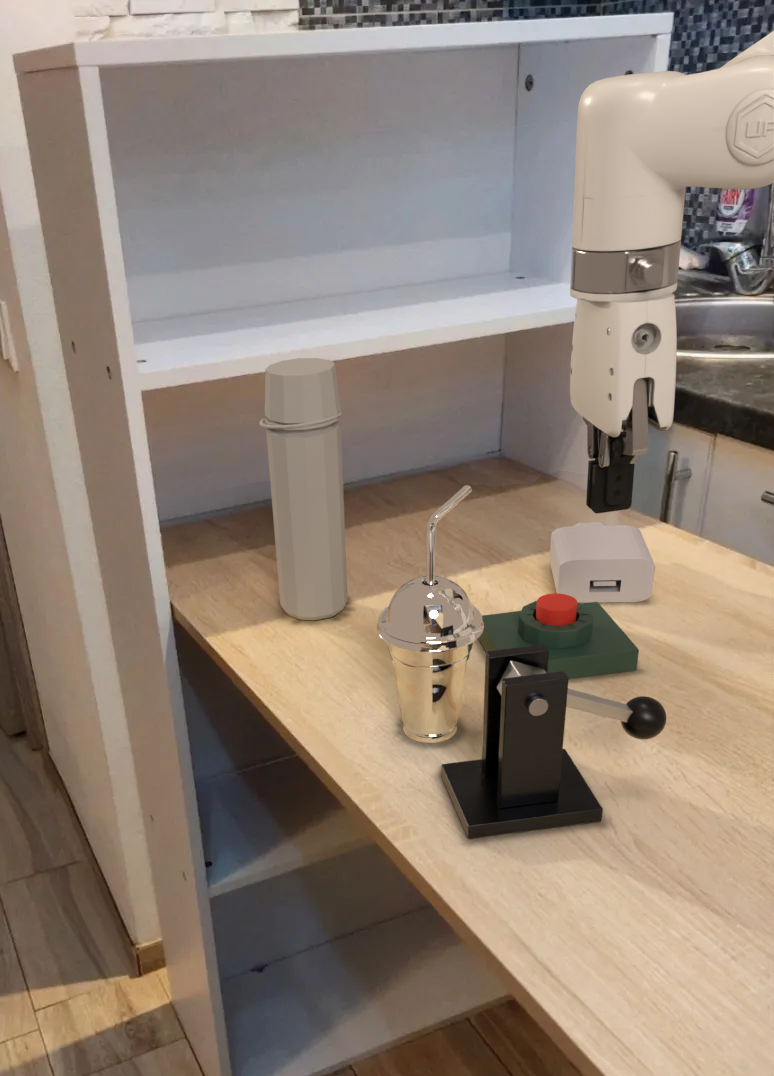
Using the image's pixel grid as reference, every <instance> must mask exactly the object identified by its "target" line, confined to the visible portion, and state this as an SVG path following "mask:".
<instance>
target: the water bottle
mask: <svg viewBox="0 0 774 1076" xmlns="http://www.w3.org/2000/svg"><path fill="white" fill-rule="evenodd" d="M342 415H343V411H342V405H341V398H340V391H339V384H338V377H337V369H336V363H335V362H333V361H332V360H330V359H325V358H319V357H299V358H292V359H284V360H279V361H277V362H273V363H271V364H269V365H268V366H267V367H266V368H265V370H264V416H265V417H263V418H261V419H260V420H259V422H258V425H259V426H261V427H262V428H266V429H265V431H266V432H265V434H266V444H267V457H268V469H269V483H270V494H271V507H272V519H273V531H274V541H275V542H274V544H275V545H274V546H275V555H276V567H277V569H276V570H277V579H278V592H279V593H278V594H279V604H280V606H281V608H282V609H283V611H284V612H285V613H286V614H287V616H288V617H289V616H290V617H292V618H295V619H297V620H302V621H319V620H324V619H330V618H332V617H334V616H336V615H337V614H339V613H341V612H342V611H343V610H344V609H345V608H346V605H347V603H348V600H349V594H348V593H349V592H348V591H349V590H348V569H347V567H348V566H347V545H346V520H345V501H344V500H345V499H344V498H345V497H344V474H343V473H344V472H343V453H342V450H343V449H342V429H341V428H342V427H341V425H342V424H341V422H339V419H340V418H341V416H342Z"/></svg>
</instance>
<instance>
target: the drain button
mask: <svg viewBox="0 0 774 1076" xmlns="http://www.w3.org/2000/svg"><path fill="white" fill-rule="evenodd" d="M536 601H537V606H536V620H537V621H539V622H541V623H544V624H547V625H556V626H561V625H569V624H571V623H574V622H575V621H576V614H577V600H576V599H575V598H573V597H572V596H569V595H566V594H559V593H557V592H556V593H555V592H554V593H547V594H543V595H541V596H539V597H538V598H537V599H536Z"/></svg>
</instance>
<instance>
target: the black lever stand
mask: <svg viewBox="0 0 774 1076" xmlns="http://www.w3.org/2000/svg"><path fill="white" fill-rule="evenodd" d="M548 659H549V650H548V648H547V647H546V645H545V644H543V645H534V646H526V647H518V648H510V649H502V650H493V651H485V661H484V662H485V668H484V694H483V695H484V697H483V718H482V719H483V723H482V747H481V748H482V751H481V758H479V759H473V760H464V761H456V762H447V763H441V766H440V768H441V769H440V770H441V771H440V772H441V773H440V775H441V776H440V777H441V779H442V781H443V784H444V786H445V788H446V790H447V792H448V795H449V797H450V799H451V802H452V805H453V806H454V809H455V811H456V813H457V816H458V818H459V821H460V823H461V826H462V828H463V830H464V833H465V835H466V837H467V839H469V840H470V839H477V838H478V839H479V838H484V837H492V836H499V835H507V834H508V835H509V834H516V833H525V832H531V831H538V830H547V829H554V828H562V827H568V826H576V825H584V824H592V823H599V822H600V823H601V822H602V820H603V812H604V811H603V810H604V809H603V807H602V805H601V804H600V802H599V800H598V799H597V797H596V796H595V794H594V793H593V791H592V789H591V788H590V785H588V783H587V781H586V780H585V778H584V777H583V775H582V774H581V772H580V771H579V769H578V767H577V766H576V763H575V762H574V760H573V759H572V758H571V756H570V755H569V753H568V751H567V749H566V748H564V738H565V727H566V717H567V716H566V714H567V706H566V704H567V692H568V688H569V680H570V679H569V678H568V676H567V675H566V673H565V672H564V671H560V672H552V673H548ZM511 660H512V661H516V662H519V663H523V664H526V665H530V666H534V667H537V668H541V669H544V670H545V672H546V673H544V674H536V675H528V676H520V677H512V678H504V679H502V695H501V694H500V693H499V691H498V689H497V686H498V684H499V682H500V680H501V678H502V676H503V674H504V672H505V670H506V668H507V666H508V664H509V662H510V661H511Z"/></svg>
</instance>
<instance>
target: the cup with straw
mask: <svg viewBox="0 0 774 1076" xmlns="http://www.w3.org/2000/svg"><path fill="white" fill-rule="evenodd" d="M472 492H473V489H472V487H471V485H468V484H466V485H463V487H461V488H460V489H459V490H458V491H457V492H456V493H455V494H454V495H453V496H452V497H450V498H449V499H448V500H447V501H446V502H445V503H443V504H442V505H441V506H440V507H439V508H438V509H436V511H434V512H433V513H432V514H431V516H430V517H429V518H428V521H427V524H426V529H425V576H419V577H416V578H413V579H411V580H409V581H407V582H405V583H404V584H402V585H401V586H400V587H399V588H398V589H397V590H396V591H395V592H394V594H393V596H392V598H391V599H390V602H389V603H388V606H386V607H385V608H384V609H383V610H382V611H381V612H380V614H379V616H378V622H377V624H376V631H377V634H378V636H379V637H380V638H381V640H383V641H384V642H386V643H387V648H388V651H389V656H390V659H391V661H392V663H393V664H392V665H393V670H394V678H395V685H396V691H397V692H396V693H397V697H398V704H399V712H400V718H401V721H402V722H403V725H402V731H403V733H404V734H405V736H407V737H408V738H409V739H411V740H413V741H415V742H418V743H419V742H420V743H425V744H436V743H442V742H445V741H447V740H449V739H451V738H452V737H454V736H455V735H456V733H457V731H458V730H457V729H458V726H457V722H458V721H459V717H460V711H461V704H462V699H463V692H464V685H465V678H466V671H467V665H468V661H469V659H470V656H471V651H472V649H473V646H474V645H473V644H474V643H475V642H476V641H477V640H479V639H478V638H479V637H480V636H481V634H482V633H483V629H484V624H483V621H482V613H481V611H480V610H479V609H478V608H477V607H476V606H475V605H473V603H472V602H471V599H470V598H469V596H468V594H467V592H466V590H464V589H463V588H462V587H461V586H460V585H459V584H458V583H457V582H456V581H455V582H454V581H453V580H451V579H450V578H449V579H448V578H447V577H443V576H439V575H436V529H437V526H438V523H439V522H440V520H442V519H443V518H444V517H445V516H447V514H449V512H451V511H452V510H453V509H454V508H455V507H456V506H457V505H458V504H460V503H461V502H462V501H463V500H465V498H466V497H468V496H469V494H471V493H472Z"/></svg>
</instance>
